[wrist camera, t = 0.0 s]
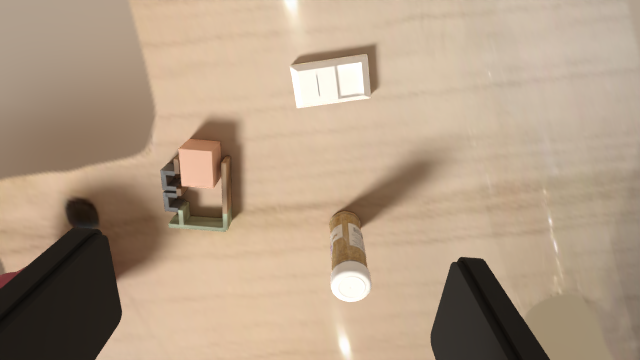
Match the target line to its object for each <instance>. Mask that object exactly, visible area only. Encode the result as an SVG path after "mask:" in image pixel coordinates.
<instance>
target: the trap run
mask: <svg viewBox="0 0 640 360" xmlns="http://www.w3.org/2000/svg"><path fill="white" fill-rule="evenodd" d="M173 160H174V164H173V163H168V164H167V165H166V166H165V167H164V168H162V169H161V170H160V171H161V180H162V189H163V190H165V191H164V192H163V198H164V207H165V211H171V212H178V214H179V215H175V216H174V217H173V219H172V220H171V221H170V223H169V228H181V229H194V230H207V231H220V232H226V230H228V228H229V226H230V224H231V222H232V207H231V160H230V156H226V157H225V158H224V160H223V161H222V162H221V179H222V209H223V218H211V217H199V216H190V208H189V202H185V200H183V199H176V198H177V197H178V196H182V195H183V193H184V192H185V191H186V190H187V188H188V186H182V184H181V179H176V178H174V176H175V175H176V174H180V173H181V172H180V160H179V154H178V155H177V156H176V157H175V158H174V159H173Z"/></svg>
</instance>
